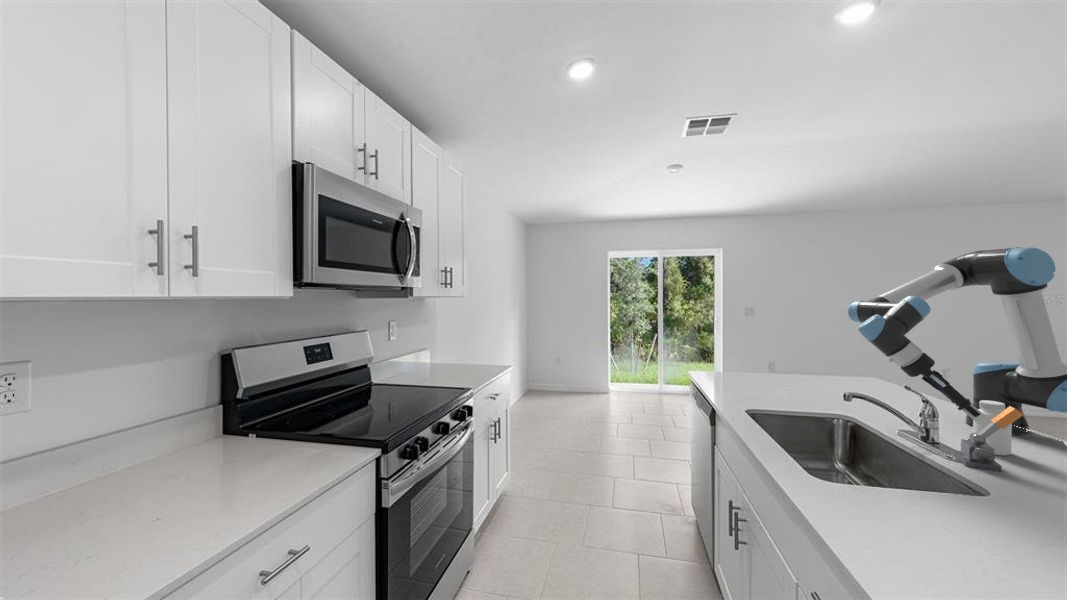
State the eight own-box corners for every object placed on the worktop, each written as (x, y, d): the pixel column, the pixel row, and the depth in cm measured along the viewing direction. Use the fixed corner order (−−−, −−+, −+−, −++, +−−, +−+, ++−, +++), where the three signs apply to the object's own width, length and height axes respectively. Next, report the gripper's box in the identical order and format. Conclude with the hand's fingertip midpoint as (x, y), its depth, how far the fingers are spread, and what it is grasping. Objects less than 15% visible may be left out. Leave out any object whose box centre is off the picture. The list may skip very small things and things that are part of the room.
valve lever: (971, 440, 119) (1014, 408, 114) (966, 436, 122) (1009, 405, 117) (980, 446, 118) (1024, 414, 113) (975, 443, 121) (1018, 411, 116)
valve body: (965, 466, 118) (966, 446, 117) (954, 455, 125) (954, 436, 125) (1001, 471, 114) (1001, 450, 114) (987, 460, 122) (987, 440, 121)
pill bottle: (966, 447, 131) (967, 400, 130) (982, 444, 133) (983, 398, 133) (1000, 457, 123) (1002, 407, 123) (1017, 454, 126) (1019, 404, 125)
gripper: (894, 364, 133) (964, 425, 125) (904, 371, 122) (983, 438, 114) (916, 348, 130) (990, 410, 122) (930, 354, 119) (1012, 422, 111)
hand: (986, 424), depth 118 cm, fingers closed
